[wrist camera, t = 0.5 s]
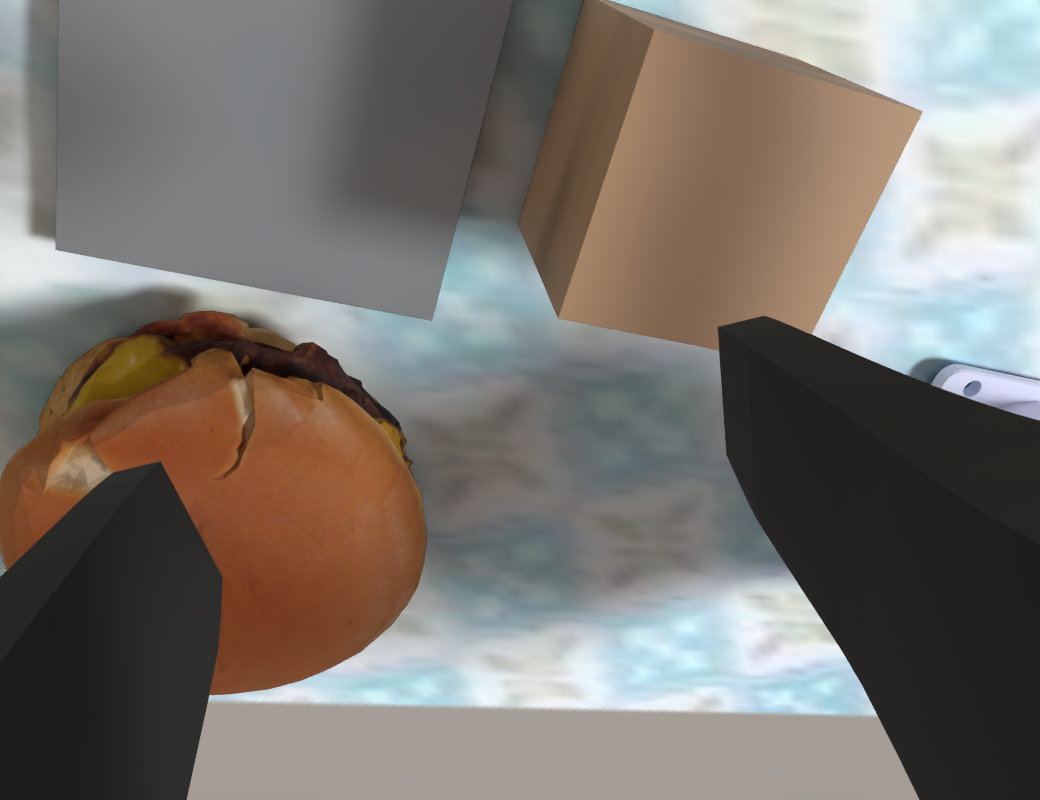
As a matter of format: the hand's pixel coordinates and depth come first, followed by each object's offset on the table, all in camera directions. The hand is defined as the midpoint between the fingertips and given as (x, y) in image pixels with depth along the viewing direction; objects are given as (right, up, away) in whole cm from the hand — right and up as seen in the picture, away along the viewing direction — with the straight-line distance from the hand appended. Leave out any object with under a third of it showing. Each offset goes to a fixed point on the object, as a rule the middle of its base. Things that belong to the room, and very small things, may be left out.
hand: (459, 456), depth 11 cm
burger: (-7, -1, +11) cm, 13 cm away
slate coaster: (-4, +7, +6) cm, 10 cm away
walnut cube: (+4, +7, +8) cm, 11 cm away
